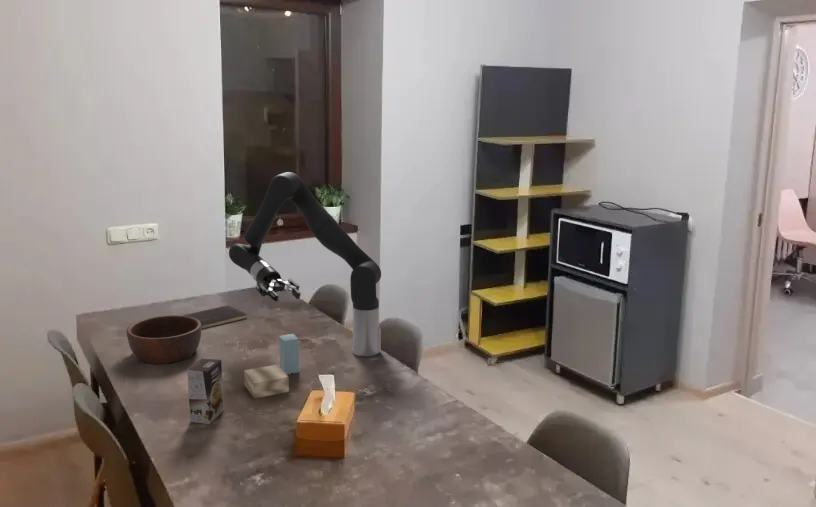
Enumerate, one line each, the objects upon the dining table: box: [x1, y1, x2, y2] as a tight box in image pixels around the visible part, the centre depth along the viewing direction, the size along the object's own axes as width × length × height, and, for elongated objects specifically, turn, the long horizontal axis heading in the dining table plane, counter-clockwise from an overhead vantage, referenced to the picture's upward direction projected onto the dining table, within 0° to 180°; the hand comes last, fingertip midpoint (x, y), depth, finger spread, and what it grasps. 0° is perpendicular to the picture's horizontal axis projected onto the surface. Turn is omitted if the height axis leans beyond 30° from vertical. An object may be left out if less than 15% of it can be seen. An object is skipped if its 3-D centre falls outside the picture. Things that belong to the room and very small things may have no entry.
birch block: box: [243, 363, 290, 399], centre depth 223 cm, size 11×11×5 cm
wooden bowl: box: [126, 314, 202, 365], centre depth 249 cm, size 25×25×10 cm
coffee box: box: [187, 358, 225, 425], centre depth 203 cm, size 9×6×16 cm
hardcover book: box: [181, 304, 248, 330], centre depth 287 cm, size 16×23×2 cm
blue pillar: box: [278, 333, 300, 375], centre depth 236 cm, size 5×5×12 cm
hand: (288, 297), depth 237 cm, fingers open, 8 cm apart
